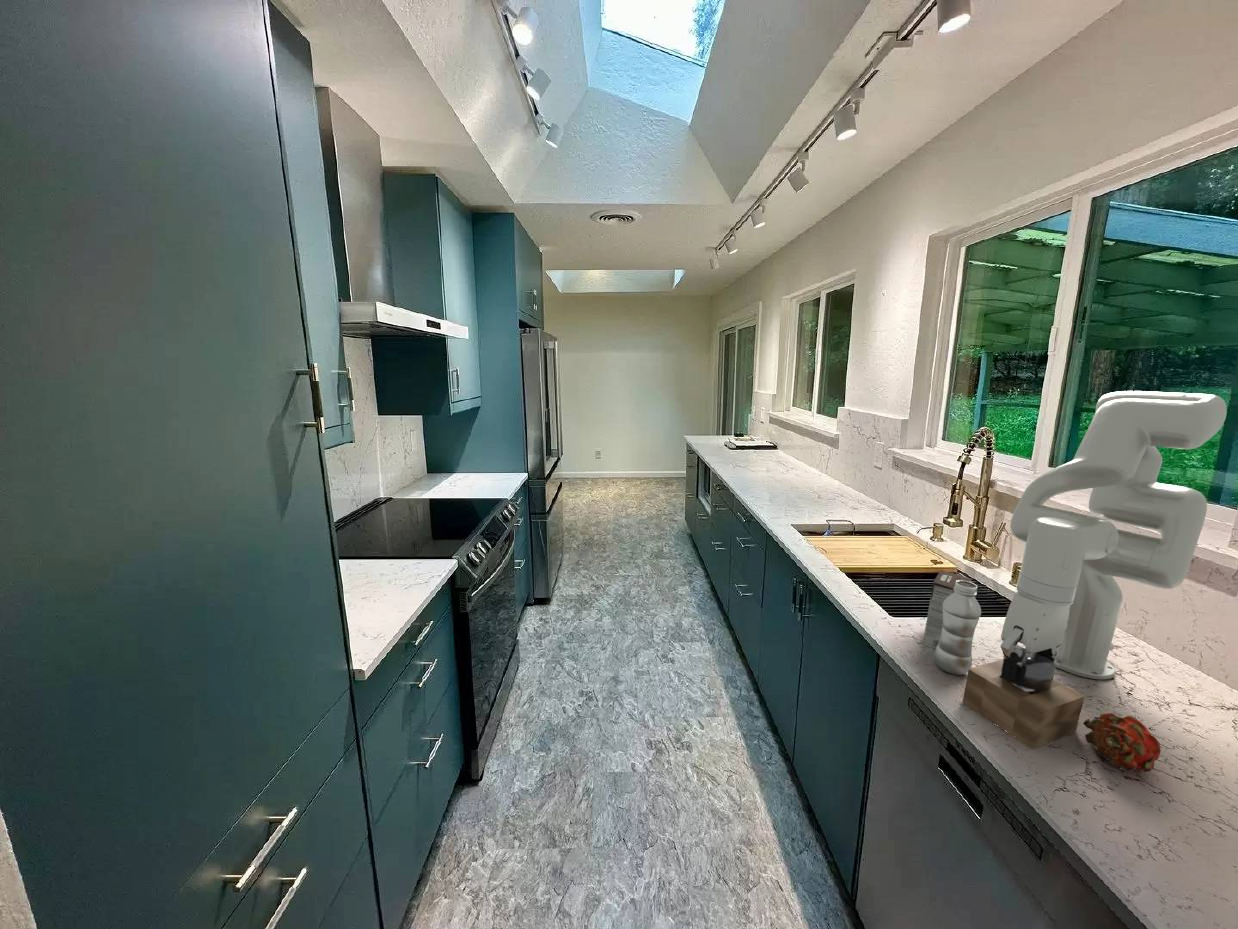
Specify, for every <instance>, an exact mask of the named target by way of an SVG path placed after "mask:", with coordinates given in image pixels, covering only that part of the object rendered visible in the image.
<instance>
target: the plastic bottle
mask: <svg viewBox="0 0 1238 929" xmlns="http://www.w3.org/2000/svg"><path fill="white" fill-rule="evenodd" d="M953 590H954V591H955V592H954V593H952V594H951V595H949V596H948V597H947V598H946V599H945V600H944V602H943V625H942V626H943V627H942V633H941V637H940V640H939V644H938V645H937V647H936V649H935V650H934V655H933V656H934V662H935V664H936V665H937V667H938V668H940V669H941V670H943V671H944V672H947V673H949V674H953V675H958V676H959V675H960V676H962V675H965V674H968V670H969V669H970V668H972V667H973V655H972V651H973V639H974V635H975V631H976V628H977V625H978V623H979V620H980V618H981V615H982V609H981V605H980V603H979V602H978V600H977V599H976V596H977V594H978V593H977V592H978V591H977V590H978V585H977V584H975V583H973V582H972V581H971V582H968V581H961V580H959V581H956V583H955V587H954V589H953Z"/></svg>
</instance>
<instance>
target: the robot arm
mask: <svg viewBox="0 0 1238 929" xmlns="http://www.w3.org/2000/svg"><path fill="white" fill-rule="evenodd" d="M1227 412H1228V411H1227V404H1226V401H1225V400H1224V399H1223V398H1222V397H1221V396H1218V395H1215V394H1210V393H1209V394H1207V393H1186V392H1165V391H1164V392H1163V391H1145V390H1144V391H1142V390H1134V391H1133V390H1127V391H1126V390H1124V391H1114V392H1109V393H1106V394H1103V395H1102V396H1101V397H1100V398H1099V399H1098V401H1097V403H1096V407H1095V413H1094V416H1093V417H1092V420H1091V422H1090V424H1089V425H1088V429H1087V430H1086V431H1085V434H1084V436H1083V438H1082V440H1081V442H1080V444H1079V445H1078V446H1079V447H1078V448H1077V451H1076V452H1075V455H1074V457H1073V459H1072V460H1071V461H1068V462H1066V463H1064V464H1061V465H1059V466H1055V467H1054V468H1052V469H1050V470H1048V471H1046V472H1045V473H1043V474H1041V475H1040V476H1038V477H1037V478H1036V479H1034V480H1033V481H1032V482H1031V483H1030V484H1029V485H1028V486H1027V487H1026V488H1025V490H1024V492H1023V494H1022V495H1021V497H1020V500H1019V501H1018V503H1017V505H1016V506H1015V509H1014V511H1013V512H1012V513H1013V514H1012V517H1011V520H1010V525H1009V526H1010V532H1011V533H1012V536H1013V537H1015V538H1016V539H1017V540H1019V541H1020V542H1023V543H1025V547H1024V551H1023V552H1024V553H1023V556H1022V562H1021V566H1020V571H1019V574H1018V580H1017V584H1016V592H1015V593H1014V595H1013V598H1012V600H1011V602H1010V605H1009V607H1008V609H1007V612H1006V615H1005V618H1004V623H1003V626H1002V629H1001V630H1002V631H1001V633H1000V634H1001V635H1000V639H1001V641H1002V643H1000V648H1001V651H1002V654H1003V659H1004V658H1005V659H1004V664H1003V669H1002V673H1001V676H1002V677H1003V678H1005V679H1007V680H1008V681H1010V682H1012V683H1014V684H1015V685H1017V686H1022V685H1023V681H1024V677H1025V672H1026V668H1027V667H1026V666H1024V664H1025V662H1026V660H1027V659H1028V657H1029V655H1030V653H1035V652H1037V653H1040V654H1042V655H1044V656H1045V657H1047V658H1049V659H1050V660H1051V661H1052V662H1053V663H1054V664H1055V666H1056V668H1058V669H1060V670H1061V671H1064V672H1068V673H1069V674H1072V675H1076V676H1078V677H1083V678H1087V679H1091V680H1110V679H1112V678H1114V676H1115V673H1116V668H1115V667H1114V665H1113V664H1112V663H1110V662H1109V661H1108V657H1109V653H1110V651H1114V649H1115V646H1114V644H1113V643H1112V642H1113V639H1114V634H1115V630H1116V627H1117V624H1118V620H1119V616H1120V612H1121V608H1122V605H1123V600H1124V597H1123V592H1122V590H1121V587H1120V586H1119V584H1118V582H1117V580H1116V579H1115V578H1114V577H1116V578H1121V579H1125V580H1127V581H1128V580H1129V581H1131V582H1135V583H1138V584H1143V585H1147V586H1151V587H1155V588H1159V589H1163V590H1166V589H1167V590H1168V589H1169V590H1171V589H1175V588H1178V587H1180V585H1181V584H1182V583H1183V582H1184V580H1185V578H1186V576H1187V574H1188V571H1189V569H1190V567H1191V563H1192V561H1193V560H1192V559H1193V556H1194V553H1195V550H1196V548H1197V544H1198V541H1199V538H1200V536H1201V532H1202V529H1203V527H1204V523H1205V520H1206V519H1205V518H1206V515H1207V510H1208V509H1207V508H1208V504H1207V499H1206V497H1205V495H1204V494H1203V493H1202V492H1200V491H1198V490H1197V489H1194V488H1191V487H1187V486H1181V485H1175V484H1167V483H1160V482H1158V481H1157V480H1158V476H1159V473H1160V471H1161V467H1162V465H1163V457H1162V454H1161V452H1160V451H1159V450H1158V448H1167V449H1179V450H1194V449H1197V448H1200V447H1201V446H1202V445H1204V444H1206V443H1207V442H1208V441H1209V440H1210V439H1212V437H1214V436H1215V435H1216V434H1217V433H1218V432H1219V431H1220V430H1221V428H1222V427H1223V425H1224V423H1225V420H1226V418H1227ZM1157 447H1158V448H1157ZM1089 489H1091V492H1090V496H1089V500H1088V510H1089V512H1090V514H1092V515H1090V514H1089V515H1088V514H1084V513H1080V512H1074V511H1069V510H1065V509H1061V508H1055V507H1051V506H1045V505H1044V504H1045V503H1046V502H1047V501H1048V500H1050V499H1051V498H1054V497H1056V496H1058V495H1060V494H1064V493H1069V492H1074V491H1078V490H1079V491H1081V490H1089ZM1112 522H1114V523H1117V524H1122V525H1128V526H1131V527H1137V528H1141V529H1145V530H1151V531H1155V532H1157V533H1159V534H1160V535H1161V538H1158V537H1154V536H1150V535H1145V534H1140V533H1137V532H1132V531H1129V530H1123V529H1120V528H1117V527H1116V526H1115V525H1114V524H1113V523H1112ZM1019 643H1020V644H1022V645H1023V646H1024V647H1025V649H1024V647H1023V646H1021V645H1018V644H1019ZM1015 648H1017V649H1019V650H1021V651H1023V653H1022V654H1021V656H1020V657H1019V656H1018V654H1017V653H1015V652H1014V651H1015Z"/></svg>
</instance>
